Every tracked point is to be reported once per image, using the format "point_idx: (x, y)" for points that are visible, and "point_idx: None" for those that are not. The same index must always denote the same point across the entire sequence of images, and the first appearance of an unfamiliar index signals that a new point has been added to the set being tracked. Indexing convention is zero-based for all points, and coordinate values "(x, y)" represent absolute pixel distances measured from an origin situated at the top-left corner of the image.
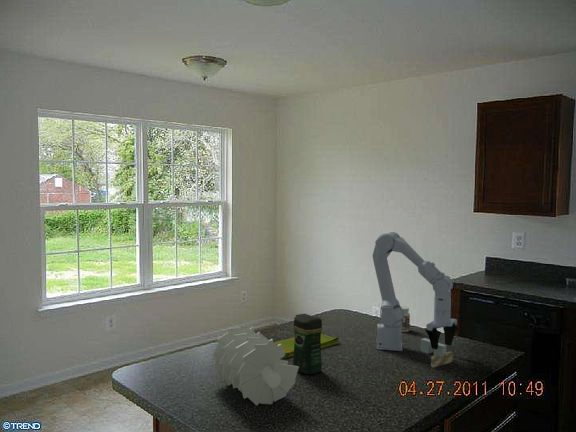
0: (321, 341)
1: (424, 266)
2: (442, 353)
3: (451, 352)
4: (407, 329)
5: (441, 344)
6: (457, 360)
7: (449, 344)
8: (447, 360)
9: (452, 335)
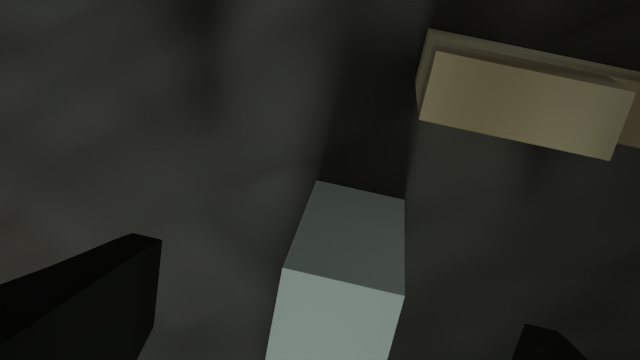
0: None
1: None
2: (400, 232)
3: (467, 64)
4: None
5: (305, 353)
6: (298, 5)
7: (151, 260)
8: (567, 61)
9: (29, 321)
